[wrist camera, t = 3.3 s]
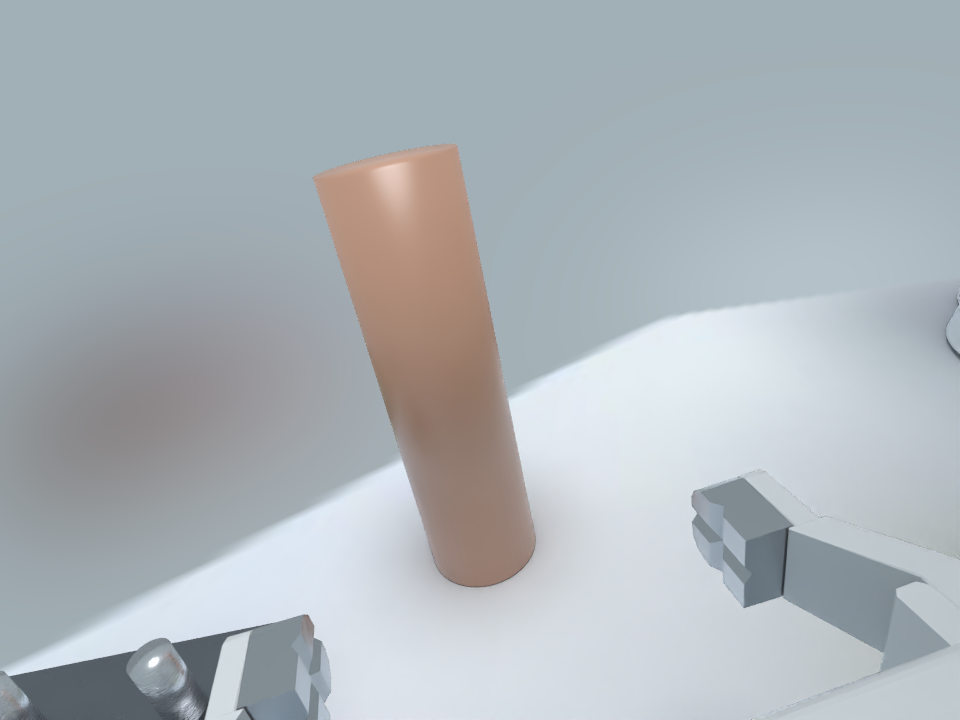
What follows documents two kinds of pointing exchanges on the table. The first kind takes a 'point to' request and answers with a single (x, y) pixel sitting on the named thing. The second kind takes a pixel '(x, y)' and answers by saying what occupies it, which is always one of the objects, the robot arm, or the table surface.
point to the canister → (434, 353)
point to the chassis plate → (121, 684)
